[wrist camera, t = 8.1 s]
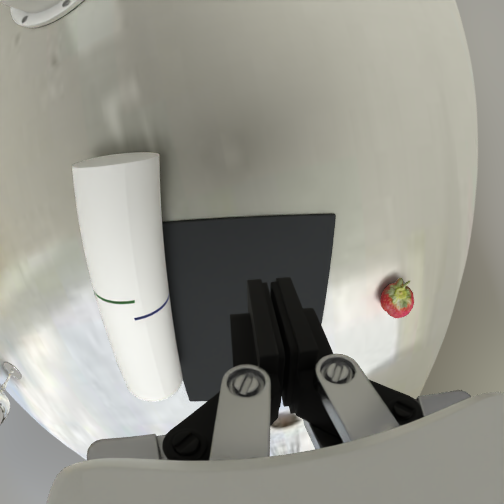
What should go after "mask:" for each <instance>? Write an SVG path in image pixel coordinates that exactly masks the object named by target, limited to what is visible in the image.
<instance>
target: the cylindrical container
mask: <svg viewBox="0 0 504 504" xmlns="http://www.w3.org/2000/svg"><path fill="white" fill-rule="evenodd" d="M72 172H73V182H74V191H75V199H76V207H77V213H78V220H79V226H80V231H81V237H82V242H83V247H84V252H85V257H86V261H87V266H88V270H89V274H90V278H91V282H92V286H93V289H94V293H95V297H96V301H97V304H98V307H99V311H100V314H101V317H102V321H103V324H104V327H105V330H106V333H107V336H108V339H109V342H110V344H111V347H112V350H113V353H114V355H115V358H116V361H117V363H118V366H119V368H120V371H121V373H122V376H123V378H124V380H125V383H126V385H127V388H128V389H129V391H130V392H131V393H132V394H133V395H134V396H136V397H137V398H139V399H141V400H145V401H161V400H164V399H167V398H169V397H171V396H172V395H174V394H175V393H176V392H177V391H178V390H179V388H180V386H181V384H182V371H181V366H180V361H179V355H178V350H177V344H176V338H175V332H174V325H173V318H172V311H171V304H170V296H169V288H168V280H167V271H166V262H165V251H164V241H163V228H162V213H161V194H160V163H159V154H158V153H152V152H134V153H122V154H113V155H107V156H101V157H96V158H91V159H87V160H84V161H81V162H78V163H76V164H74V165H72Z"/></svg>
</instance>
